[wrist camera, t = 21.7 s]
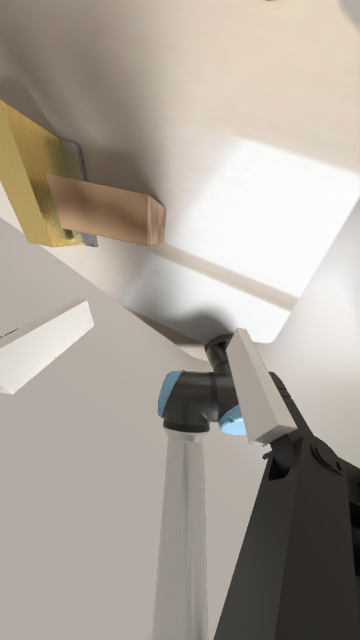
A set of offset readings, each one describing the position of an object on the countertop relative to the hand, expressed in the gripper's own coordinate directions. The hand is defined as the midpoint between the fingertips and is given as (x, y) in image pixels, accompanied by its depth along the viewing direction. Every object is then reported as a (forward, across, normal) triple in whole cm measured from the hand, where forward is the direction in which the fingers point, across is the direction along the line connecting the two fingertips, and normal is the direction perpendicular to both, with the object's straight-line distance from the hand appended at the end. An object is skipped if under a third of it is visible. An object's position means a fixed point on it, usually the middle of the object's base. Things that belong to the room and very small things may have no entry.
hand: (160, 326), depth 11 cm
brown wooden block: (+25, -13, +8) cm, 29 cm away
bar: (+24, -28, +10) cm, 38 cm away
